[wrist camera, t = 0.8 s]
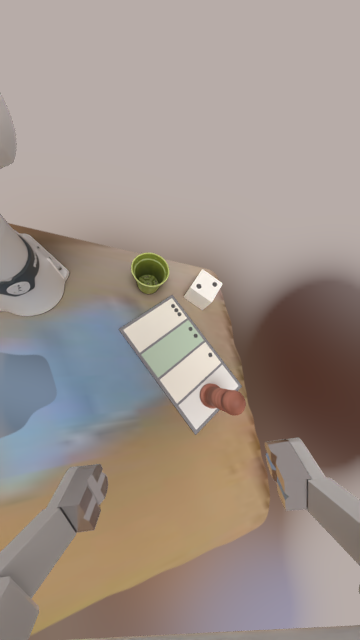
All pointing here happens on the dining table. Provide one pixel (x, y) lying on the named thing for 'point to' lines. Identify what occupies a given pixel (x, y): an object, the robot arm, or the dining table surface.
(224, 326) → the dining table surface
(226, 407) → the pawn
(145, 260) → the plant pot
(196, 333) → the game board
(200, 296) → the die
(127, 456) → the dining table surface
